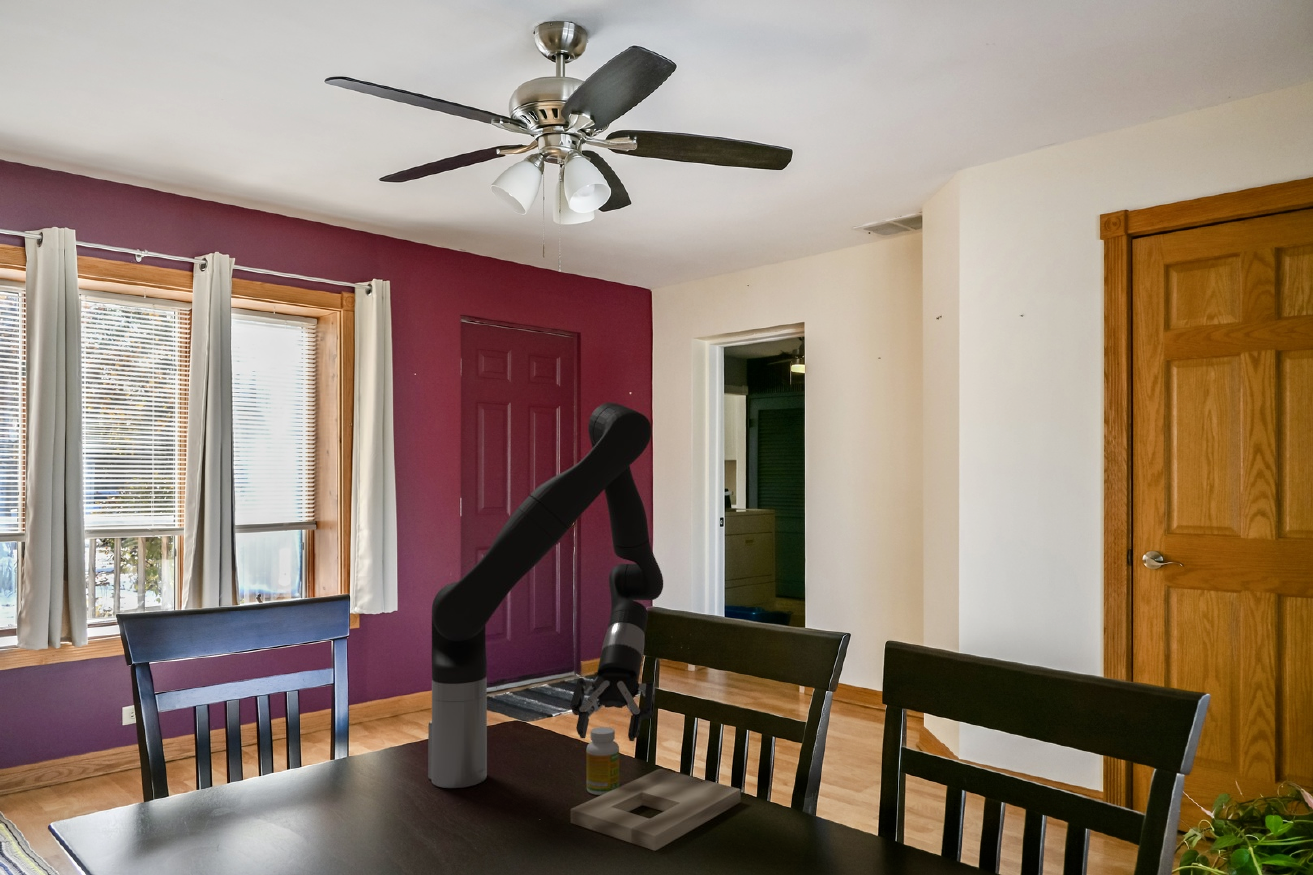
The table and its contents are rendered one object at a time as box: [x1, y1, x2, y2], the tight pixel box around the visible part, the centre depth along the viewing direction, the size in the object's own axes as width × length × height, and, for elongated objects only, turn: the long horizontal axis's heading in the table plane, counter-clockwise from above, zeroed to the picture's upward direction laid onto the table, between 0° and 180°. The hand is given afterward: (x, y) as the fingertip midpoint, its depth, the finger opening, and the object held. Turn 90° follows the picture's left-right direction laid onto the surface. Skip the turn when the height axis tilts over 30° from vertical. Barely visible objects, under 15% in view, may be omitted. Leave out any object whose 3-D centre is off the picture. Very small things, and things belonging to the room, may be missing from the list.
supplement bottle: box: [586, 726, 620, 796], centre depth 141 cm, size 5×5×10 cm
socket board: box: [570, 768, 742, 851], centre depth 131 cm, size 16×22×2 cm
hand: (606, 737), depth 143 cm, fingers open, 8 cm apart
